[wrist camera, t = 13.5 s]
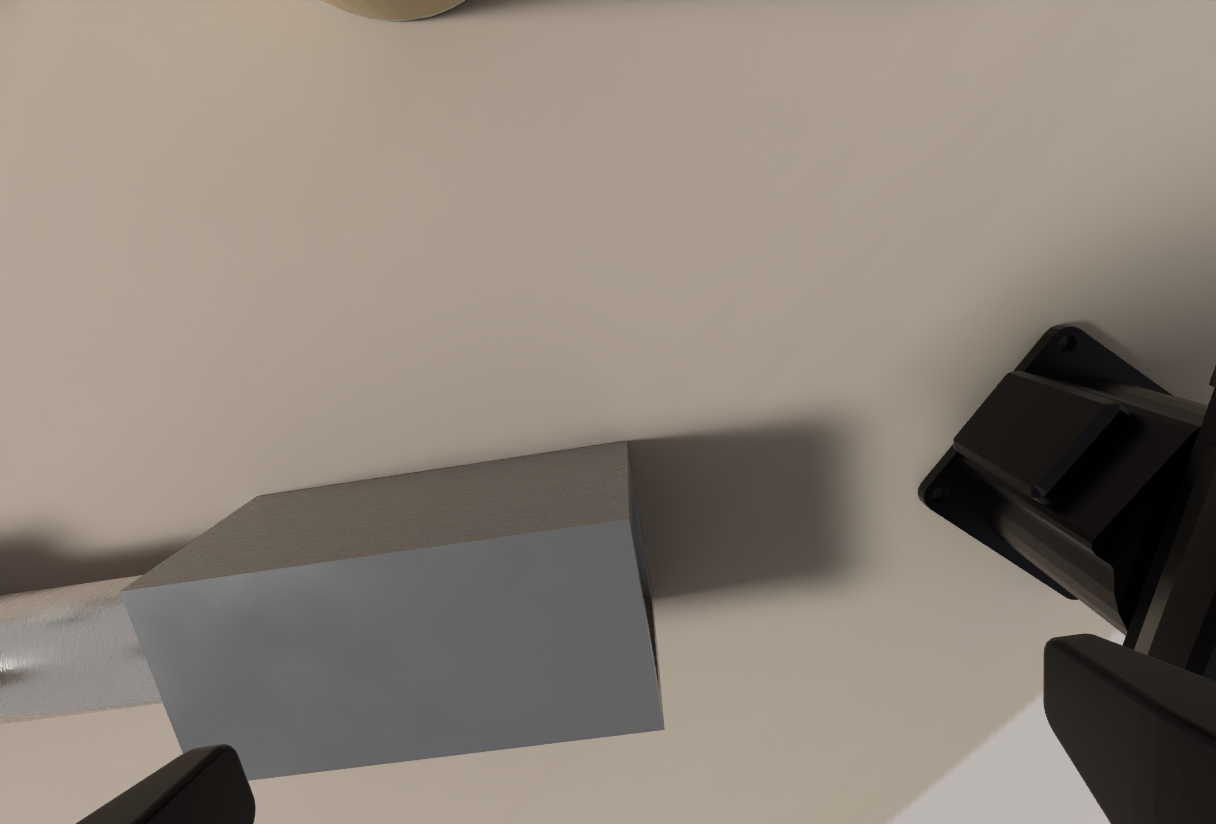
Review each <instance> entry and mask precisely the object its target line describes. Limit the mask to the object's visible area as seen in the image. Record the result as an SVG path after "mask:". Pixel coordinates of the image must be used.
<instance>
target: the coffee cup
mask: <svg viewBox="0 0 1216 824" xmlns="http://www.w3.org/2000/svg"><path fill="white" fill-rule="evenodd" d="M323 1H324V2H326V3H329V4H331V5H333V6H335V7H337V8H340V9H342V10H345V11H347V12H350V13H353V14H355V15H359V16H363V17H367V18H370V19H378V20H386V21H408V20H414V19H421V18H426V17H432V16H434V15H437V14H439V13H442V12H445V11H447V10H450V9H452V8H454V7H456V6H457V5H459V4H461V3H462V2H464V1H466V0H323Z"/></svg>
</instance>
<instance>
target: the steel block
mask: <svg viewBox="0 0 1216 824" xmlns="http://www.w3.org/2000/svg"><path fill="white" fill-rule="evenodd" d="M119 592H120V595H121V598H122V600H123V603H124V605H125V608H126V610H127V613H128V615H129V618H130V620H131V623H132V625H133V628H134V630H135V633H136V635H137V638H138V641H139V643H140V646H141V648H142V651H143V653H144V656H145V658H146V661H147V663H148V666H149V668H150V671H151V673H152V676H153V679H154V681H155V684H156V686H157V689H158V691H159V694H160V696H161V699H162V701H163V704H164V706H165V709H166V711H167V714H168V716H169V719H170V722H171V724H172V727H173V729H174V732H175V734H176V737H177V739H178V742H179V744H180V747H181V749H182V752H183V754H184V753H185V752H187V751H189V750H191V749H193V748H197V747H203V746H211V745H219V744H227V745H230V746H232V747H233V748H234V749H235V750H236V752H237V754H238V756H239V759H240V761H241V764H242V767H243V770H244V772H245V775H246V778H247V780H256V779H264V778H273V777H281V776H289V775H297V774H305V773H314V772H322V771H330V770H338V769H346V768H355V767H363V766H371V765H379V764H387V763H395V762H404V761H412V760H420V759H428V758H436V757H445V756H453V755H461V754H469V753H477V752H486V751H494V750H502V749H510V748H518V747H526V746H535V745H543V744H551V743H559V742H567V741H576V740H584V739H592V738H600V737H608V736H617V735H625V734H633V733H641V732H649V731H658V730H664V719H663V707H662V696H661V684H660V673H659V662H658V650H657V639H656V627H655V616H654V604H653V597H652V591H651V585H650V578H649V572H648V566H647V560H646V554H645V548H644V542H643V536H642V530H641V523H640V517H639V511H638V505H637V499H636V493H635V487H634V481H633V475H632V468H631V462H630V456H629V450H628V444H627V441H623V442H616V443H610V444H603V445H596V446H590V447H583V448H576V449H570V450H563V451H556V452H550V453H543V454H536V455H530V456H523V457H517V458H510V459H503V460H497V461H490V462H483V463H477V464H470V465H463V466H457V467H450V468H443V469H437V470H430V471H423V472H417V473H410V474H403V475H397V476H390V477H383V478H377V479H370V480H364V481H357V482H350V483H344V484H337V485H330V486H324V487H317V488H310V489H304V490H297V491H290V492H284V493H277V494H270V495H264V496H257V497H255V498H254V499H252V500H251V501H249V502H248V503H246V504H245V505H244V506H242V507H241V508H239V509H238V510H236V511H235V512H233V513H232V514H231V515H229V516H228V517H226V518H225V519H223V520H222V521H220V522H219V523H218V524H216V525H215V526H213V527H212V528H210V529H209V530H207V531H206V532H205V533H203V534H202V535H200V536H199V537H197V538H196V539H194V540H193V541H192V542H190V543H189V544H187V545H186V546H184V547H183V548H181V549H180V550H179V551H177V552H176V553H174V554H173V555H171V556H170V557H168V558H167V559H166V560H164V561H163V562H161V563H160V564H158V565H157V566H155V567H154V568H153V569H151V570H150V571H148V572H147V573H145V574H144V575H142V576H141V577H140V578H138V579H137V580H135V581H134V582H132V583H131V584H129V585H128V586H127V587H125V588H124V589H122V590H121V591H119Z"/></svg>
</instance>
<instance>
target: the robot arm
mask: <svg viewBox="0 0 1216 824" xmlns="http://www.w3.org/2000/svg"><path fill="white" fill-rule="evenodd" d="M1064 336H1066V337H1067V341H1068V342H1067V344H1066V346H1065V347H1064V348H1063V349H1062V350H1060V349H1059V342H1060V340H1061V339H1062V338H1063V337H1064ZM1209 385H1210V386H1213V387H1215V388H1214V391H1213V394H1212V397H1211V400H1210V402H1209V405H1208V406H1207V405H1203V404H1199V403H1196V402H1192V401H1189V400H1185V399H1181V398H1178V397H1174V396H1172V395H1171V394H1170V393H1168V392H1167V391H1165V390H1164V389H1163V388H1161V387H1160V386H1159V385H1157V384H1156V383H1154V382H1153V381H1152V380H1150V379H1149V378H1147V377H1146V376H1145V375H1143V374H1142V373H1140V372H1139V371H1138V370H1136V369H1135V368H1134V367H1132V366H1131V365H1129V364H1128V363H1127V362H1125V361H1124V360H1122V359H1121V358H1120V357H1118V356H1117V355H1115V354H1114V353H1113V352H1111V351H1110V350H1109V349H1107V348H1106V347H1104V346H1103V345H1102V344H1100V343H1099V342H1097V341H1096V340H1095V339H1093V338H1092V337H1090V336H1089V335H1088V334H1086V333H1085V332H1084V331H1082V330H1081V329H1079V328H1076V327H1074V326H1068V325H1056V326H1054V327H1051V328H1050V329H1049V330H1048V331H1047V332H1045V334H1044V335H1043V336H1042V337H1041V338H1040V340H1039V341H1038V342H1037V343H1036V345H1035V346H1034V347H1033V348H1032V349H1031V351H1030V352H1029V353H1028V354H1027V355H1026V357H1025V358H1024V359H1023V360H1022V361H1021V363H1020V364H1019V365H1018V366H1017V368H1016V369H1015V370H1014V371H1013V372H1011V373H1008V374H1007V375H1006V376H1005V377H1004V378H1003V379H1002V381H1001V382H1000V383H999V384H998V385H997V387H996V388H995V389H994V390H993V391H992V393H991V394H990V395H989V396H988V398H987V399H986V400H985V401H984V402H983V404H982V405H981V406H980V407H979V408H978V410H977V411H976V412H975V413H974V415H973V416H972V417H971V418H970V419H969V421H968V422H967V423H966V424H965V425H964V427H963V428H962V429H961V430H960V432H959V433H958V434H957V435H956V436H955V438H954V444H953V445H952V446H951V447H950V449H949V450H948V451H947V452H946V453H945V455H944V456H943V457H942V458H941V460H940V461H939V462H938V463H937V464H936V466H935V467H934V468H933V469H932V470H931V472H930V473H929V474H928V475H927V476H926V478H925V479H924V480H923V481H922V483H921V484H920V486H919V488H918V496H919V499H920V500H921V501H922V502H923V503H924V504H925V505H926V506H927V507H928V508H929V509H931V510H932V511H934V512H936V513H937V514H939V515H940V516H942V517H943V518H945V519H946V520H948V521H949V522H951V523H952V524H954V525H955V526H957V527H959V528H960V529H962V530H963V531H965V532H966V533H968V534H969V535H971V536H972V537H974V538H975V539H977V540H979V541H980V542H982V543H983V544H985V545H986V546H988V547H989V548H991V549H992V550H994V551H995V552H997V553H998V554H1000V555H1002V556H1003V557H1005V558H1006V559H1008V560H1009V561H1011V562H1012V563H1014V564H1015V565H1017V566H1018V567H1020V568H1022V569H1023V570H1025V571H1026V572H1028V573H1029V574H1031V575H1032V576H1034V577H1035V578H1037V579H1038V580H1040V581H1041V582H1043V583H1045V584H1046V585H1048V586H1049V587H1051V588H1052V589H1054V590H1055V591H1057V592H1058V593H1060V594H1061V595H1063V596H1065V597H1066V598H1069V599H1071V600H1080V601H1082V602H1083V603H1084V604H1086V605H1087V606H1088V607H1089V608H1091V609H1092V610H1093V611H1095V612H1096V613H1097V614H1098V615H1100V616H1101V617H1102V618H1104V619H1105V620H1106V621H1107V622H1109V623H1110V624H1111V625H1113V626H1114V627H1115V628H1116V629H1118V630H1119V631H1120V632H1121V633H1123V634H1124V635H1125V636H1126V637H1125V640H1124V643H1123V646H1122V645H1119V644H1117V643H1114V642H1111V641H1109V640H1106V639H1103V638H1101V637H1098V636H1095V635H1092V634H1078V635H1071V636H1063V637H1055V638H1052V639H1050V640H1049V641H1048V642H1047V643H1046V645H1045V647H1044V709H1045V714H1046V717H1047V720H1048V722H1049V724H1050V726H1051V728H1052V730H1053V732H1054V733H1055V735H1056V736H1057V738H1058V740H1059V741H1060V743H1061V745H1062V746H1063V747H1064V749H1065V751H1066V753H1067V754H1068V756H1069V757H1070V759H1071V760H1072V762H1073V764H1074V765H1075V767H1076V768H1077V770H1078V772H1079V773H1080V775H1081V777H1082V778H1083V780H1084V781H1085V783H1086V785H1087V786H1088V788H1089V789H1090V791H1091V793H1092V794H1093V796H1094V797H1095V799H1096V801H1097V802H1098V804H1099V805H1100V807H1101V809H1102V810H1103V812H1104V813H1105V815H1106V817H1107V818H1108V820H1109V821H1110V823H1111V824H1216V366H1215V369H1214V372H1213V375H1212V377H1211V380H1210V383H1209ZM938 488H942V490H943V492H942V494H941V495H940V496H939V497H938V498H934V499H932V494H933V492H934V491H935V490H936V489H938ZM254 818H255V800H254V796H253V794H252V791H251V788H250V786H249V783H248V780H247V778H246V775H245V772H244V770H243V767H242V764H241V761H240V759H239V756H238V754H237V752H236V750H235V749H234V748H233V747H232V746H230V745H227V744H219V745H211V746H203V747H197V748H193V749H191V750H189V751H187V752H185V753H184V754H182V755H180V756H179V757H177V758H176V759H174V760H173V761H171V762H170V763H168V764H167V765H165V766H164V767H162V768H160V769H159V770H157V771H156V772H154V773H153V774H151V775H150V776H148V777H147V778H145V779H144V780H142V781H141V782H139V783H137V784H136V785H134V786H133V787H131V788H130V789H128V790H127V791H125V792H124V793H122V794H121V795H119V796H117V797H116V798H114V799H113V800H111V801H110V802H108V803H107V804H105V805H104V806H102V807H101V808H99V809H97V810H96V811H94V812H93V813H91V814H90V815H88V816H87V817H85V818H84V819H82V820H81V821H79V822H78V823H76V824H253V823H254Z"/></svg>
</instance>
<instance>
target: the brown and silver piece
mask: <svg viewBox="0 0 1216 824" xmlns="http://www.w3.org/2000/svg"><path fill="white" fill-rule="evenodd" d="M141 576H142V575H139V576H132V577H125V578H118V579H111V580H105V581H98V582H91V583H84V584H77V585H70V586H63V587H56V588H49V589H42V590H35V591H28V592H21V593H14V594H7V595H0V724H7V723H14V722H22V721H29V720H37V719H45V718H52V717H60V716H68V715H75V714H83V713H91V712H98V711H106V710H113V709H121V708H129V707H136V706H144V705H152V704H159V703H163V701H162V699H161V696H160V694H159V691H158V689H157V686H156V684H155V681H154V679H153V676H152V673H151V671H150V668H149V666H148V663H147V661H146V658H145V656H144V653H143V651H142V648H141V646H140V643H139V641H138V638H137V635H136V633H135V630H134V628H133V625H132V623H131V620H130V618H129V615H128V613H127V610H126V608H125V605H124V603H123V600H122V598H121V595H120V592H119V591H121V590H122V589H124V588H125V587H127V586H128V585H129V584H131V583H132V582H134V581H135V580H137V579H138V578H140V577H141Z"/></svg>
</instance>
